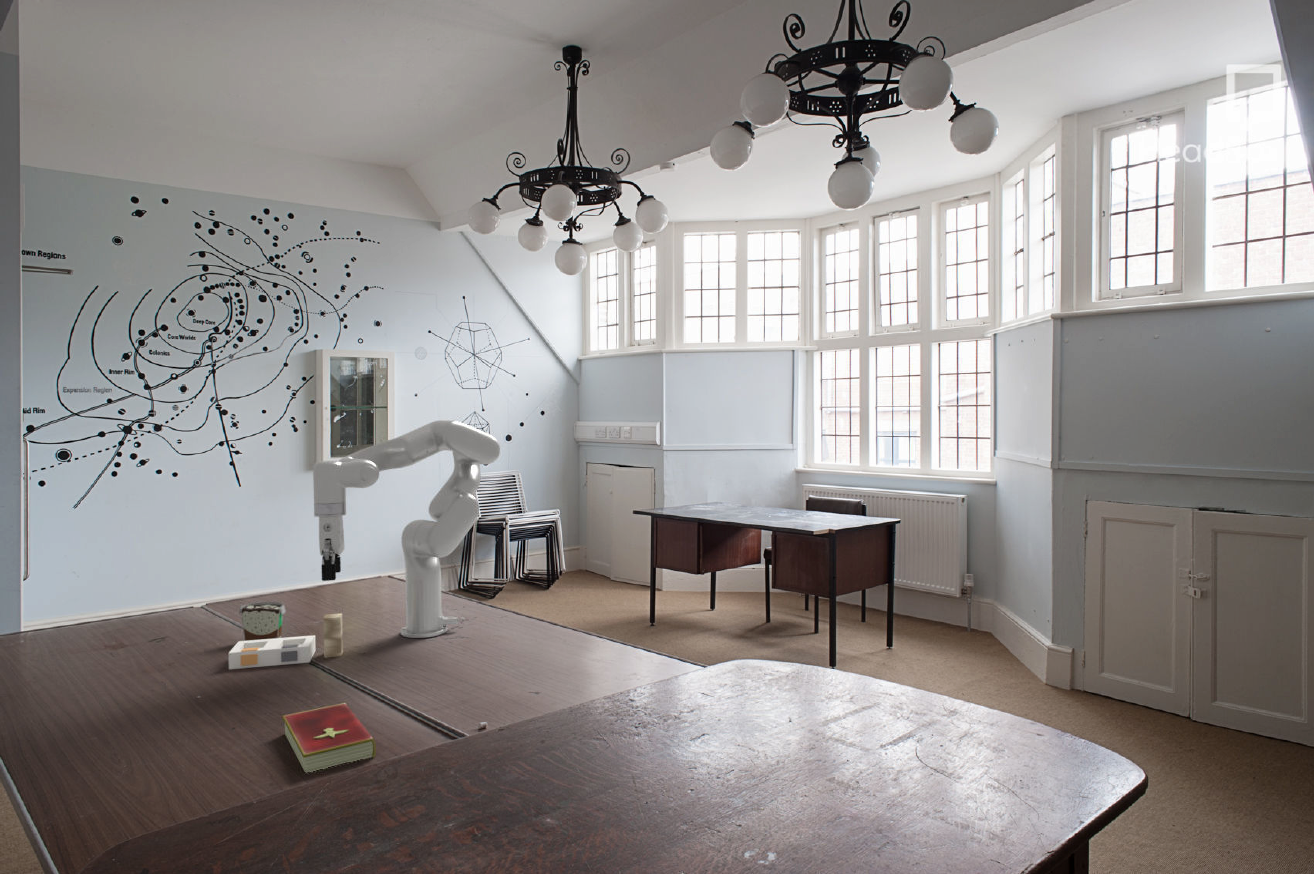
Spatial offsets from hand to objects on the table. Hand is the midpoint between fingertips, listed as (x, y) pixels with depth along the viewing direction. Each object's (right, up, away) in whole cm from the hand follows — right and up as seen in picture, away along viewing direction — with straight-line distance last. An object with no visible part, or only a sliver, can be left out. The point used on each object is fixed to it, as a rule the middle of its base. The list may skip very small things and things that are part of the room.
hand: (331, 576), depth 199 cm
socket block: (-13, -20, -3) cm, 24 cm away
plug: (0, -20, +1) cm, 20 cm away
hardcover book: (+22, -23, -54) cm, 62 cm away
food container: (-23, -20, +14) cm, 34 cm away
